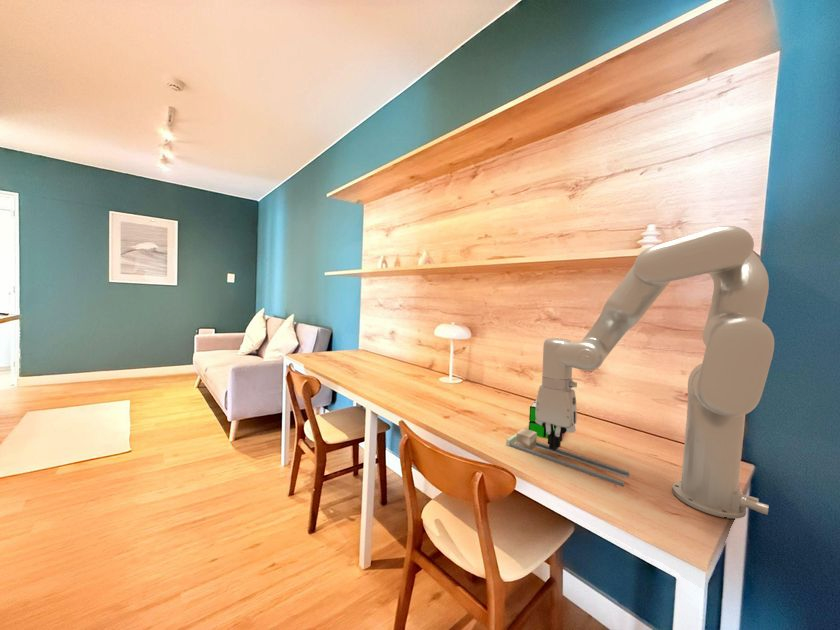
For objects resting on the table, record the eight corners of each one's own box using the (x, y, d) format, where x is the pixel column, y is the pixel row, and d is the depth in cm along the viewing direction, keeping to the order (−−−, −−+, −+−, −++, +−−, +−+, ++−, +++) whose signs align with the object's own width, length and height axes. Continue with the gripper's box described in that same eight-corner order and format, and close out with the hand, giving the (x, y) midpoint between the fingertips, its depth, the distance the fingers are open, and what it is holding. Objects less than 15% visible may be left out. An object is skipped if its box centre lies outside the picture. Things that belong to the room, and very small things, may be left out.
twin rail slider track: (629, 476, 85) (630, 466, 85) (621, 490, 78) (622, 480, 78) (518, 439, 105) (518, 431, 105) (504, 448, 98) (505, 440, 98)
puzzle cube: (565, 433, 111) (567, 404, 111) (561, 444, 102) (563, 412, 102) (534, 426, 116) (536, 398, 116) (528, 436, 108) (529, 406, 107)
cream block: (536, 445, 99) (536, 432, 99) (529, 450, 95) (529, 437, 95) (523, 441, 102) (524, 428, 101) (515, 446, 98) (516, 433, 98)
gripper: (589, 386, 90) (586, 452, 91) (535, 376, 100) (533, 436, 101) (581, 391, 84) (578, 462, 85) (524, 380, 94) (522, 444, 95)
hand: (553, 448), depth 93 cm, fingers closed
